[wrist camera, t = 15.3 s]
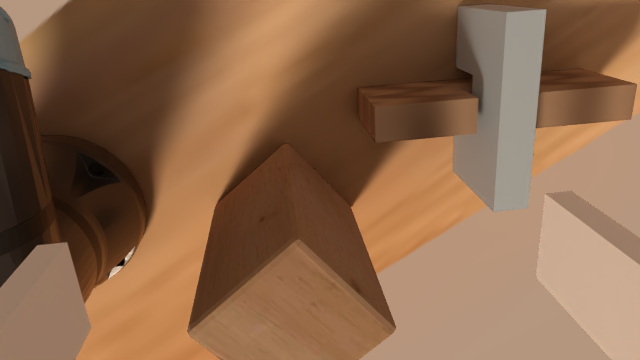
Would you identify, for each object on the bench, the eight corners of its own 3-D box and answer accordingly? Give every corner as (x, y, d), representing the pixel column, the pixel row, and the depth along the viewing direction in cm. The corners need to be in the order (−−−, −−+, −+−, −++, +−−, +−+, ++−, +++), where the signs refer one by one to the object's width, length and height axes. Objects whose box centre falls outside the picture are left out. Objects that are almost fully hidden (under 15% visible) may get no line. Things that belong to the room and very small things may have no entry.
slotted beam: (358, 118, 49) (375, 142, 41) (357, 87, 48) (374, 106, 40) (577, 99, 50) (631, 119, 43) (581, 68, 49) (637, 84, 42)
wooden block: (286, 139, 49) (298, 236, 30) (352, 207, 52) (400, 331, 34) (213, 205, 51) (182, 335, 32) (282, 267, 54) (290, 416, 35)
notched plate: (452, 170, 52) (493, 211, 43) (457, 6, 46) (506, 12, 37) (481, 167, 52) (527, 208, 43) (489, 3, 46) (546, 9, 37)
